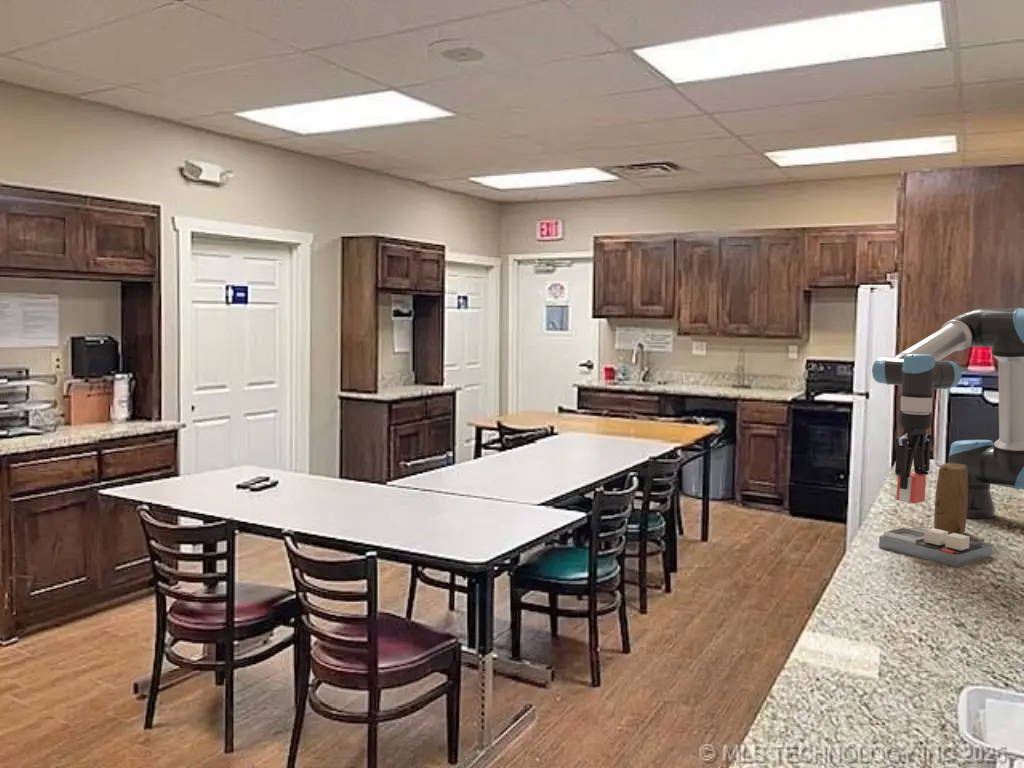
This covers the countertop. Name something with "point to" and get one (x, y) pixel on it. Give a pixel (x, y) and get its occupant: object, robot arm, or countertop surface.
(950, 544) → the toggle
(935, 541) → the toggle
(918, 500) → the coral toy cube
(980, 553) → the panel
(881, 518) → the countertop surface
